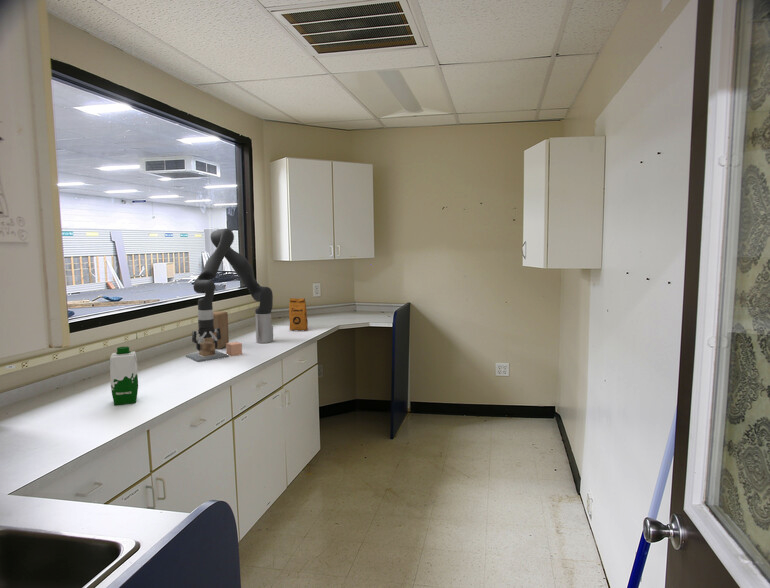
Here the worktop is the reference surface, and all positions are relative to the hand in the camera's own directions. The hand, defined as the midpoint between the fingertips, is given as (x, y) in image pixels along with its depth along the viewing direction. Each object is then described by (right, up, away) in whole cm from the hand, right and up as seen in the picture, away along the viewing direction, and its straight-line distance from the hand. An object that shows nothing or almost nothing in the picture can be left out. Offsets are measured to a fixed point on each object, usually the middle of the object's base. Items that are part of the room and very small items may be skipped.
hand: (207, 349), depth 253 cm
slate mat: (0, -4, 0) cm, 4 cm away
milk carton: (-4, -12, -72) cm, 73 cm away
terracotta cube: (+12, -4, +6) cm, 14 cm away
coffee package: (+34, +4, +79) cm, 85 cm away
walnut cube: (0, -3, 0) cm, 3 cm away
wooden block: (-3, -2, +25) cm, 25 cm away
